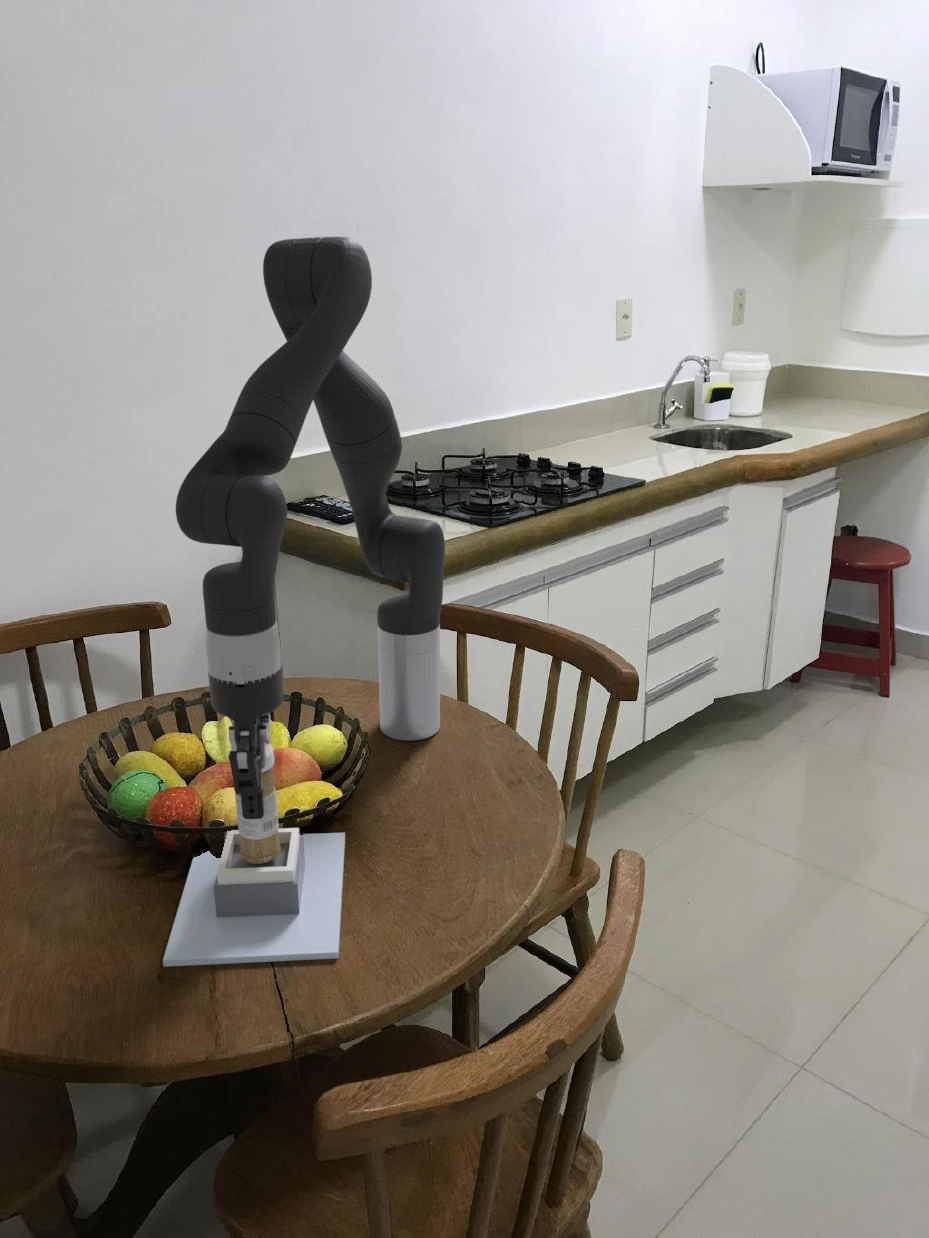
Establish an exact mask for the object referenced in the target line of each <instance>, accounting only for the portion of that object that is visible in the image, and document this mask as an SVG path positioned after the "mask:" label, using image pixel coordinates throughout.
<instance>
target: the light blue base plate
mask: <svg viewBox="0 0 929 1238" xmlns="http://www.w3.org/2000/svg"><path fill="white" fill-rule="evenodd" d="M230 830H231V829H230ZM300 834H301V833H300V828H299V827H287V828H286V827H285V828H284V827H283V828H282V827H281V828H278V836H279V844H280V847H281V850H280V853H279V855H278V856H277V857H276V858H275V859H273V860H271V861H269V862H267V863H262V864H252V863H249V862H247V861H245V860H244V859H242V858H241V854H240V850H241V845H240V835H239V830H238V829H232V830H231V831H228V830H227V832H226V836H225V837H226V839H225V843H224V847H223V851H222V855H221V858H216V857H215V856H213V855H212V854H211V853H210V851H207V852H205V853H202V854H201V855H200V856H197V857H194V856H193V857H194V858H192V861H191V865H190V868H189V871H188V874H187V878H186V880H185V881H186V882H185V884H184V887H183V891H182V894H181V898H180V900H179V905H178V908H177V911H176V913H175V914H176V915H175V917H174V922H173V925H172V927H171V928H172V929H171V932H170V934H169V939H168V941H167V945H166V948H165V952H164V955H163V958H162V965H163V967H165V968H167V967H185V966H205V965H206V966H208V965H209V966H210V965H225V964H227V965H228V964H245V963H246V964H250V963H268V962H269V963H270V962H287V961H288V962H290V961H292V962H293V961H310V960H311V961H313V960H331V959H332V960H333V959H339V955H340V937H341V935H340V934H341V919H342V918H341V916H342V904H343V903H342V900H343V899H342V898H343V886H344V885H343V883H344V865H345V851H346V850H345V849H346V848H345V846H346V832H328V833H327V832H324V833H322V832H321V833H318V832H317V833H302V834H303V835H300Z"/></svg>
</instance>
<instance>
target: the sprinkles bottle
mask: <svg viewBox="0 0 929 1238" xmlns="http://www.w3.org/2000/svg"><path fill="white" fill-rule="evenodd" d="M259 759H260V756H257V759H256V760H259ZM274 765H275V753H274V747H273V746H272V744H271V743H270V744H269V743H266V765H265V767H264V768H263V769H262V782H263V786H262V791H263V803H264V815H263V817H262V818H261V819H245V818H244V817H243V813H242V802H241V794H235V793H234V797H235V807H236V817H237V819H236V820H237V826H238V827H237V830H239V835H240V845H241V850H240V854H241V858H242V859H244V860H245V861H247V862H249V863H252V864H262V863H267V862H269V861H271V860H273V859H275V858H276V857H277V856H278V855H279V853H280V850H281V847H280V844H279V836H278V829H279V814H278V798H277V790H276V785H275V784H276V783H275V775H274V773H275V772H274V771H275V770H274V767H275V766H274Z"/></svg>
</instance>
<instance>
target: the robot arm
mask: <svg viewBox="0 0 929 1238" xmlns="http://www.w3.org/2000/svg"><path fill="white" fill-rule="evenodd" d="M262 263H263V264H262V273H263V276H262V277H263V283H264V288H265V292H266V295H267V300H268V302H269V304H270V308H271V310H272V312H273V315H274V317H275V319H276V321H277V323H278V325H279V328H280V329H281V332H282V334H283V336H284V338H285V341H286V342H285V343H284V344H283V345H281V346H280V347H279V348H278V349H277V350H275V351H274V352H273V353H272V354H271V355H270V356H269V357H268V358H266V360H265V359H264V361H263V362H262V363H261V364H260V365H259V366H258V367H257V369H256V370H254V372H253V373H252V374H251V375H250V376H249V377H248V379H247V381H246V382H245V384H244V386H243V387H242V389H241V391H240V393H239V395H238V398H237V401H236V403H235V404H234V407H233V410H232V412H231V415H230V417H229V420H228V422H227V424H226V427H225V428H224V431H223V432H222V433H221V434H220V435H219V436H218V437H217V438H216V440H215V441H213V443H212V444H211V445H210V447H208V448H207V450H206V451H205V452H204V453H203V455H202V456H201V457H200V458H199V459H198V460H197V462H196V463H195V464H194V465H193V466H192V467H191V469H189V470H190V471H189V472H188V473H187V475H186V476H185V477H184V479H183V481H182V483H181V484H180V487H179V489H178V492H177V496H176V501H175V516H176V521H177V524H178V526H179V529H180V530H181V532H182V534H183V535H184V536H186V537H187V539H189V540H191V541H194V542H197V543H201V544H206V545H207V544H209V545H220V546H228V547H229V546H230V547H237V548H239V547H240V548H241V551H242V553H241V554H242V555H241V560H240V561H235V562H227V563H223V564H219V565H216V566H214V567H212V568H211V569H209V570H208V571H207V572H206V573H205V574H204V576H203V579H202V597H203V607H204V615H205V616H204V617H205V627H206V631H205V633H206V635H205V654H206V655H205V656H206V664H207V673H208V674H207V675H208V684H209V685H208V686H209V695H210V697H209V698H210V704H211V707H212V709H213V710H214V711H215V712H216V713H217V714H218V715H221V716H222V717H226V718H228V719H231V724H232V725H229V726H228V742H229V743H230V744H231V750H230V752H229V754H228V760H229V763H230V764H229V765H230V770H231V775H232V776H231V777H232V781H233V785H234V786H233V791H234V795H235V794H241V802H242V813H243V817H244V818H245V819H261V818H262V817H263V815H264V803H263V791H262V786H263V782H262V769H263V768H264V767H265V765H266V743H269V744H270V745H271V738H272V737H271V722H272V721H271V713H273V712H275V711H276V710H277V709H279V708H280V707H281V705H282V704H283V702H284V699H285V696H284V682H283V681H284V680H283V679H284V677H283V664H282V651H281V648H282V647H281V639H280V635H279V630H278V626H277V611H276V599H275V580H276V573H277V564H278V559H279V554H280V549H281V545H282V542H283V537H284V534H285V530H286V525H287V519H288V506H287V499H286V497H285V494H284V492H283V490H282V489H281V487H280V485H279V484H278V483H277V482H276V481H275V480H273V479H272V478H270V477H268V476H272V475H276V474H278V473H280V472H281V471H283V470H284V469H285V468H286V467H287V465H288V464H289V462H290V460H291V457H292V456H293V452H294V449H295V448H296V445H297V443H298V440H299V436H300V434H301V432H302V428H303V426H304V423H305V420H306V417H307V415H308V412H309V410H310V408H311V405H312V404H313V403H314V407H315V410H316V411H317V414H318V418H319V421H320V424H321V427H322V429H323V434H324V435H325V436H324V437H325V439H326V442H327V445H328V446H329V449H330V452H331V455H332V457H333V459H334V461H335V464H336V466H337V469H338V472H339V475H340V477H341V480H342V484H343V487H344V489H345V493H346V495H347V498H348V502H349V504H350V509H351V512H352V515H353V520H354V524H355V528H356V533H357V537H358V542H359V544H360V545H359V546H360V549H361V553H362V557H363V560H364V562H365V564H366V567H367V568H368V570H370V572H371V573H372V574H373V575H374V576H377V577H380V578H382V579H387V580H393V581H394V580H395V581H401V582H405V583H409V586H408V587H409V591H408V593H406V594H401V595H398V596H392V597H391V598H390V597H389V598H388V599H386V600H384V601H382V602H381V603H380V604H379V606H378V607H377V613H376V615H377V619H376V620H377V621H376V622H377V650H378V651H377V657H378V694H379V696H378V697H379V698H378V699H379V729H380V731H381V732H382V734H383V735H385V736H386V737H388V738H391V739H394V740H396V741H407V742H409V741H410V742H411V741H419V740H425V739H428V738H431V737H432V736H434V735H436V733H438V732H439V730H440V728H441V610H442V604H443V597H444V596H443V595H444V573H445V561H446V560H445V557H446V556H445V555H446V542H445V534H444V531H443V528H442V526H441V525H440V524H439V523H438V522H437V521H434V520H430V519H424V518H418V517H410V516H403V515H396V514H395V513H394V512H393V511H392V510H391V508H390V506H389V505H390V504H389V503H388V499H387V495H386V493H387V489H388V486H389V484H390V482H391V480H392V478H393V476H394V473H395V471H396V470H397V468H398V465H399V463H400V459H401V455H402V450H403V443H402V435H401V433H400V429H399V425H398V422H397V418H396V416H395V413H394V409H393V406H392V402H391V400H390V399H389V397H388V396H387V394H386V392H385V391H384V390H383V389H382V387H380V385H379V383H377V382H376V381H375V380H374V379H373V378H372V377H371V376H370V375H369V374H368V373H367V372H366V371H365V370H364V369H363V368H362V367H360V366H359V364H358V363H356V362H355V361H354V360H353V359H352V358H351V357H350V356H349V355H348V354H347V353H346V352H345V351H344V349H345V348H346V345H347V343H348V342H349V340H350V339H351V338H352V335H353V334H354V333H355V330H356V329H357V327H358V326H359V324H360V322H361V320H362V319H363V317H364V315H365V313H366V310H367V308H368V305H369V303H370V299H371V293H372V286H373V281H372V280H373V276H372V269H371V263H370V259H369V256H368V255H367V253H366V250H365V249H364V247H363V246H362V244H361V243H360V242H358V241H357V240H355V239H354V238H351V237H347V236H319V237H301V238H289V239H288V238H287V239H281V240H277V241H274V242H273V243H272V244H270V246H269V247H267V249H266V252H265V253H264V258H263V262H262ZM257 756H260V759H259V760H256V759H257Z"/></svg>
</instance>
